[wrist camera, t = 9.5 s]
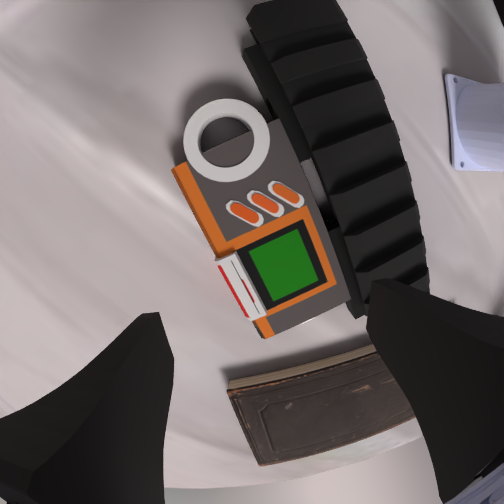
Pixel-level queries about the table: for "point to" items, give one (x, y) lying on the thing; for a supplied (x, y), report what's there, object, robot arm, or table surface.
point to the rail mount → (341, 139)
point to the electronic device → (260, 220)
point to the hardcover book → (318, 405)
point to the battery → (500, 8)
